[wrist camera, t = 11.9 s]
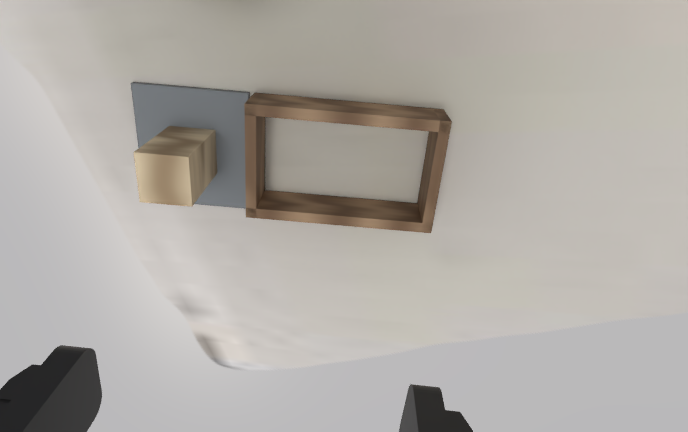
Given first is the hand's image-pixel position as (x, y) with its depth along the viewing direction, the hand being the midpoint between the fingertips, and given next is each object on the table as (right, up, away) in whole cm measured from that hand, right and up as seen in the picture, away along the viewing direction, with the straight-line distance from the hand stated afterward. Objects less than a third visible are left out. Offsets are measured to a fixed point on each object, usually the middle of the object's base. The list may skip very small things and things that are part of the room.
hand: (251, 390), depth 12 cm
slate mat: (-13, +11, +35) cm, 39 cm away
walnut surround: (+2, +10, +35) cm, 37 cm away
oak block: (-13, +11, +35) cm, 38 cm away
